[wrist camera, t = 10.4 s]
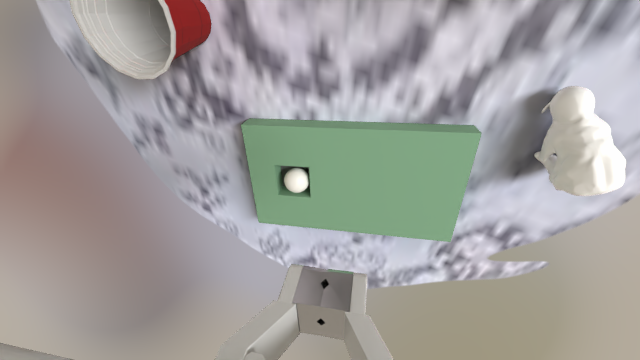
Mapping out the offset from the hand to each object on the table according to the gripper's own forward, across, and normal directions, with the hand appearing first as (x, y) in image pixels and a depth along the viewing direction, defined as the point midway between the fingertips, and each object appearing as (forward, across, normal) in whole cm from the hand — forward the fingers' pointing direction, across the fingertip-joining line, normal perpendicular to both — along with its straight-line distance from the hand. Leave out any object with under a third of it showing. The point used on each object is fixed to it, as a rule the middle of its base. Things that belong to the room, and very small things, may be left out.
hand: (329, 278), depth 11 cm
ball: (+28, +10, +14) cm, 33 cm away
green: (+30, +1, +14) cm, 33 cm away
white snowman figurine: (+31, -25, +5) cm, 40 cm away
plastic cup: (+31, +24, -8) cm, 40 cm away
